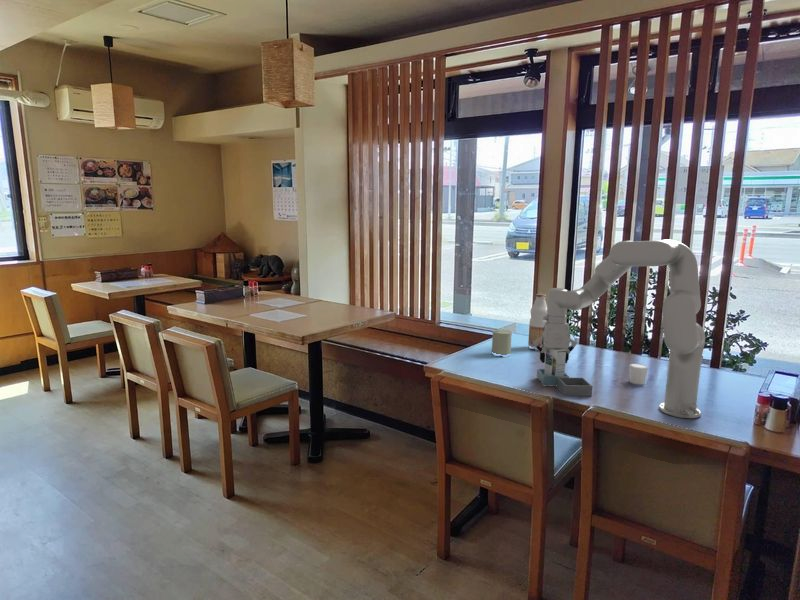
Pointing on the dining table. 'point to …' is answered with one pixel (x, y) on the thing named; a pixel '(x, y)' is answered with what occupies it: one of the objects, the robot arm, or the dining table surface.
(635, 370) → the white cup
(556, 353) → the syrup box
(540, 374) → the slate bin
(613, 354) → the dining table surface
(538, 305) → the fruit juice
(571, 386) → the charcoal bin
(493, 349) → the can
